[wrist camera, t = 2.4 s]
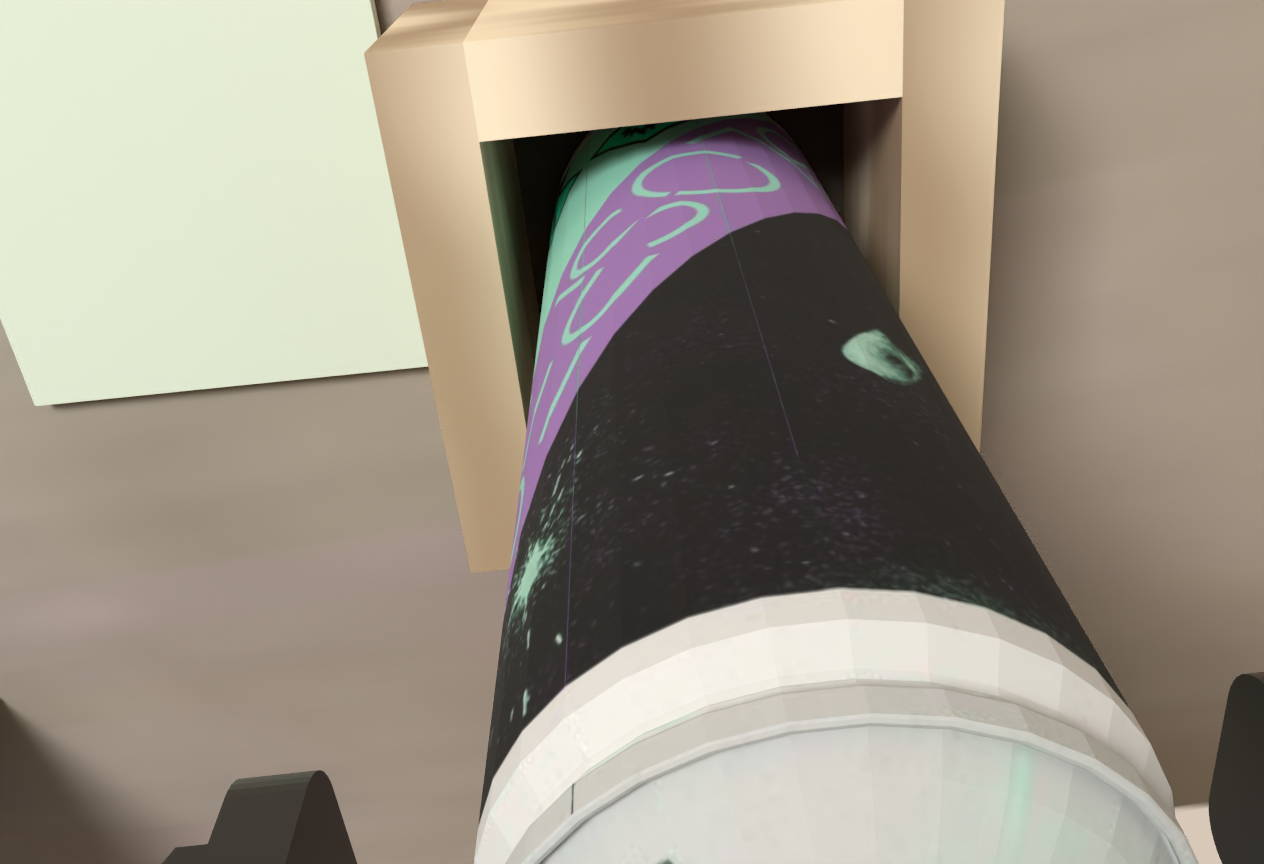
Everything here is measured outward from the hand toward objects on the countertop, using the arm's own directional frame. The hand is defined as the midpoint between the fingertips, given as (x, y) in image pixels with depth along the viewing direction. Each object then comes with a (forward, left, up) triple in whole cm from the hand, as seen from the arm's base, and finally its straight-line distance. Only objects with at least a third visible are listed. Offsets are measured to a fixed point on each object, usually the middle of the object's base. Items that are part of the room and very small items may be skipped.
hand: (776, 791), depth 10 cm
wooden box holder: (0, 0, -15) cm, 15 cm away
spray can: (0, 0, -16) cm, 16 cm away
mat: (+10, -2, -15) cm, 18 cm away
